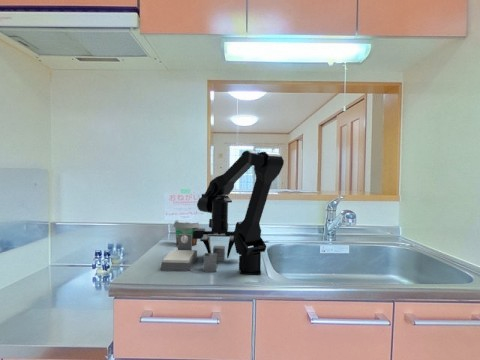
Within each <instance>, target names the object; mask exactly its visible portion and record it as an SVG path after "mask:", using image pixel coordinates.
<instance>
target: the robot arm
mask: <svg viewBox="0 0 480 360" xmlns="http://www.w3.org/2000/svg"><path fill="white" fill-rule="evenodd" d="M284 163H285V161H284V159H283V156H282V155H281V153H279V152H272V151H261V152H257V151H254V150H244V151H243V152H242V153H241V155H240V157H238V158H237V160H235V161H234V163H233V164H232V165H231V166H230V167H229V168H228V169H227V170H226V171H225V172H224V173H223V174H221V175H218V176H216V177H214V178H213V179H211V181H210V182H209V184H208V187H207V189H206V191H205V192H204V193H201V197H200V198H199V199H198V201H197V202H196V206H197V207H196V208H197V209H198V210H199V211H200V212H203V213H209V214H211V218H209V220H208V227H209V229H211V230H206V228H201V227H198V228H196V229H195V230H194V231H193V233H192V238H193V239H197V240H199V241H200V242H202V243H203V244H204V247H205V248H206V251H207V253H212V245H211V237H222V238H223V237H225V238H226V237H227V238H228V237H229V238H228V239H229V240H228V247H227V253H226V259H229V257H230V254H231V251H232V248H233V246H234V249H235V253H236V254H238V255H239V256H238V271H239V272H240V273H239V274H241V275H261V274H262V271H261V269H262V268H261V264H262V263H261V259H262V254H261V253H265V252H266V250H267V244H266V242H264V239H263V238H262V236H261V235H262V229H261V225H260V222H261V219H262V216H263V212H264V209H265V205H266V202H267V199H268V196H269V192H270V189H271V187H272V183H273V182H274V181H275V180H276V179H277V177H278V176H279V175H280V174H281V171H282V168H283V167H284ZM253 166H254V167H253ZM252 167H253V171H254V175H255V182H254V185H253V188H252V192H251V194H250V198H249V202H248V205H247V209H246V212H245V216H244V218H243V220H242V221H237V222H236V223H235V227H234V230H233V231H229V223H228V222H229V219H228V218H229V203H232V202H233V201H232V199H231V198H230V197H229V195H230V194H231V193H232V191H233V190H234V188H235V183H236V182H237V181H239V179H241V177H242V176H243V175H244V174H245V173H247V172H248V170H249V169H251V168H252Z"/></svg>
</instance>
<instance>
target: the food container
mask: <svg viewBox="0 0 480 360" xmlns="http://www.w3.org/2000/svg"><path fill="white" fill-rule="evenodd" d="M173 227H174V228H175V242H176V246H178V234H192V233H193V231H194V230H195V229H196V228H200V223H199V222H187V221H186V222H179V220H178V219H177V220H175V221H174V224H173ZM197 242H198V239H193V238H192V247H195V245H196V246H197V244H198V243H197Z"/></svg>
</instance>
